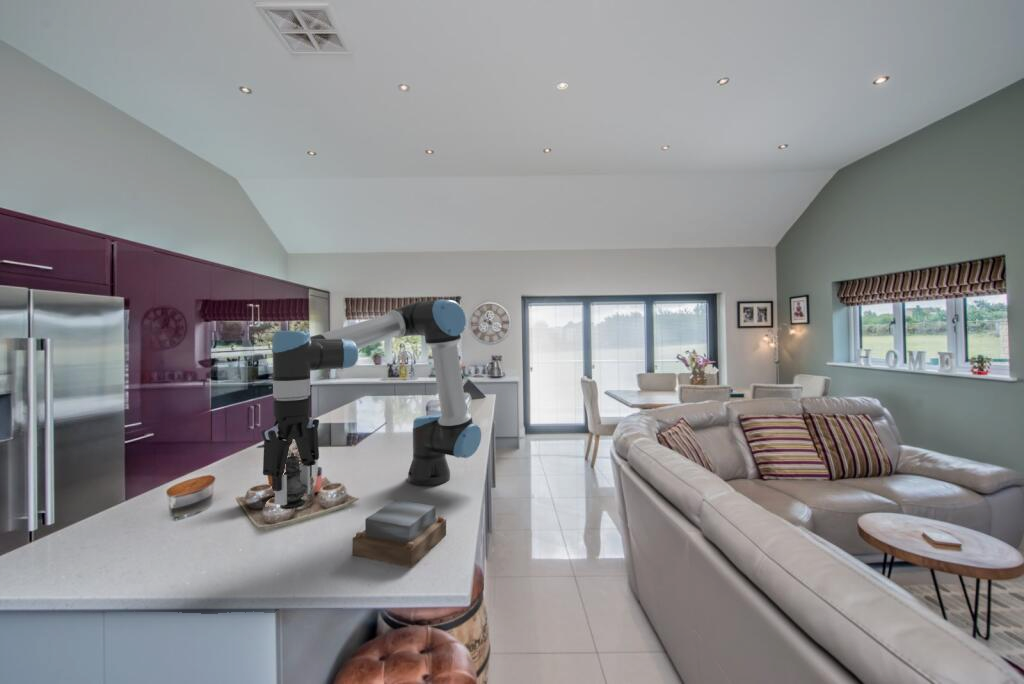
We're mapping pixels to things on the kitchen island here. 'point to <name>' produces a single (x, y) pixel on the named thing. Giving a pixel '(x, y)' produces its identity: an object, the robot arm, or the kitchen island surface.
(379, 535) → the sharpening stone holder
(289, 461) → the dark grey tall piece
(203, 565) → the kitchen island surface
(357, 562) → the kitchen island surface
